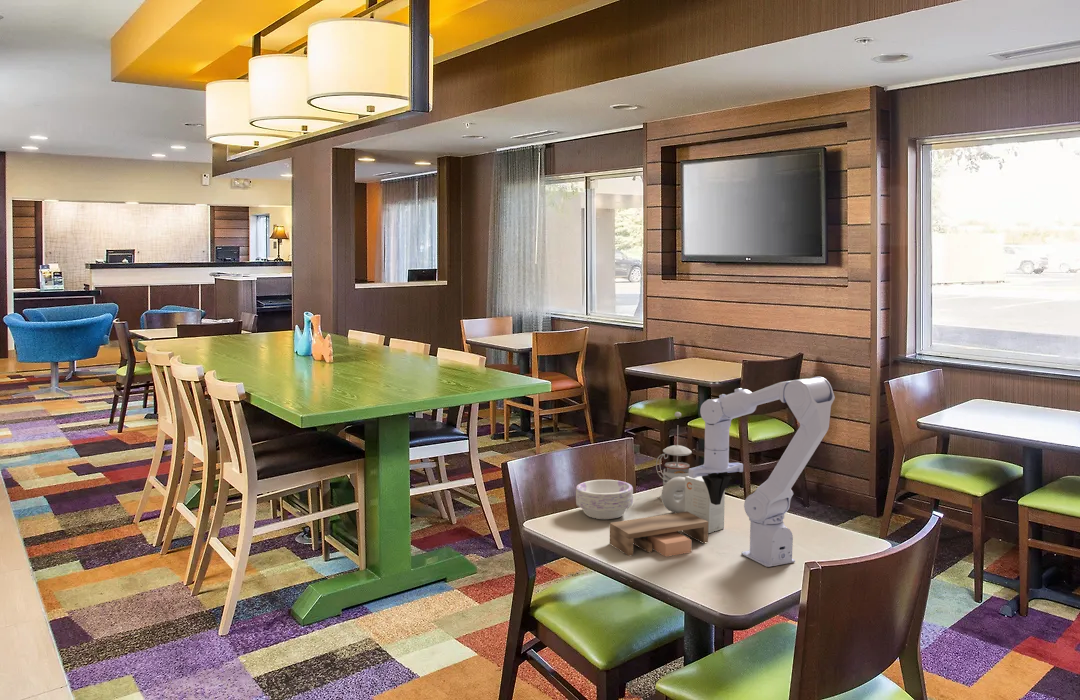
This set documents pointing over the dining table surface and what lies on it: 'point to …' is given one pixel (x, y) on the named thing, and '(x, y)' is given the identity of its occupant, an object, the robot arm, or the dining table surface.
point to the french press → (675, 464)
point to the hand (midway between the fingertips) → (715, 503)
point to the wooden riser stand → (655, 530)
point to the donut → (669, 495)
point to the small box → (703, 503)
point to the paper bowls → (604, 498)
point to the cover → (670, 543)
